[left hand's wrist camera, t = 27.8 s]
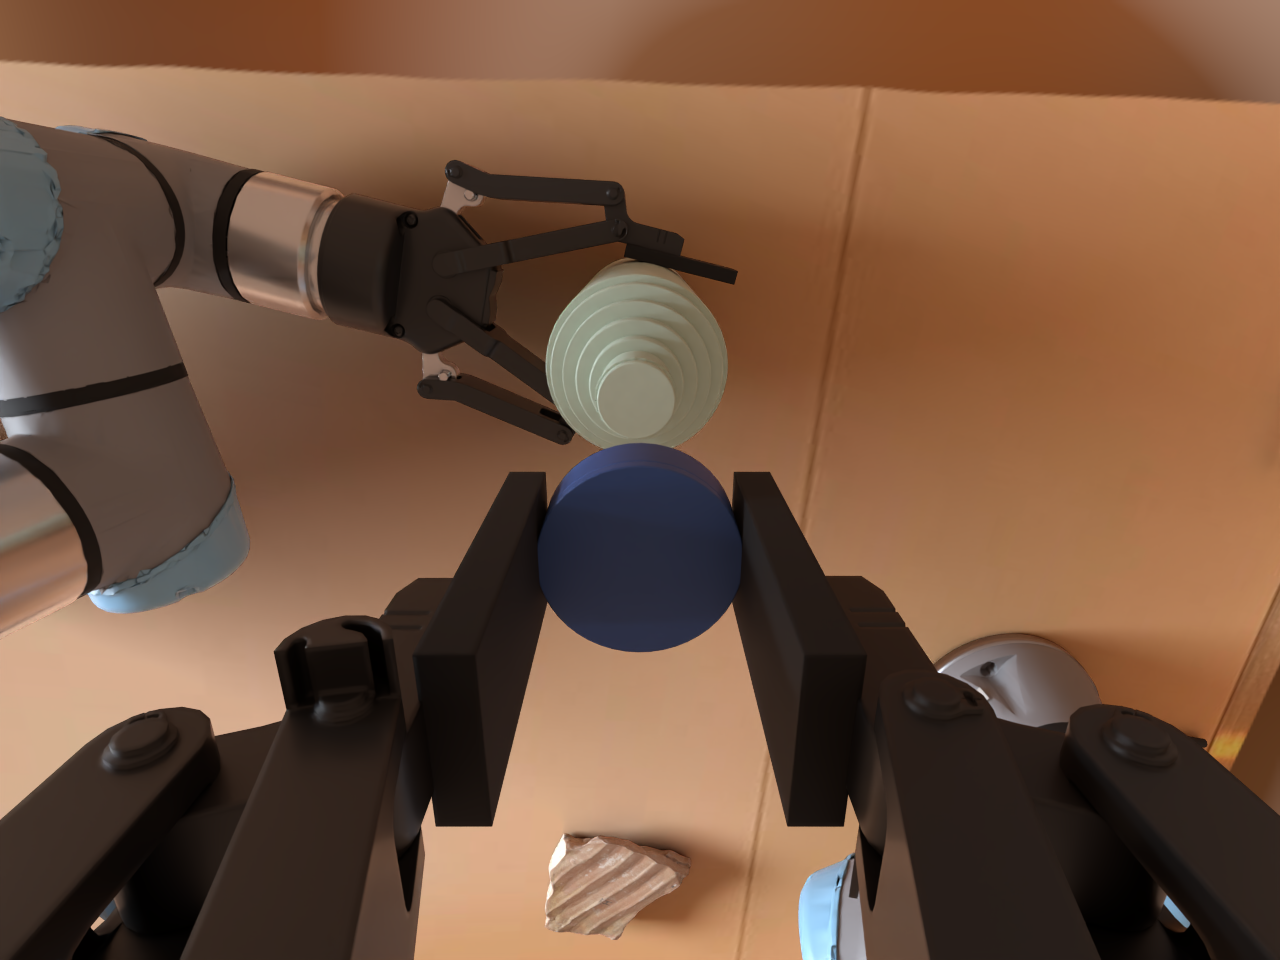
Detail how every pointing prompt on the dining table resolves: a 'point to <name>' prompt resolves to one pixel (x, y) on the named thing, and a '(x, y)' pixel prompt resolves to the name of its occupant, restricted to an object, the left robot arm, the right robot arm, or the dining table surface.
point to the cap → (639, 548)
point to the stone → (607, 883)
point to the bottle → (636, 358)
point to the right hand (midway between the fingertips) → (712, 349)
